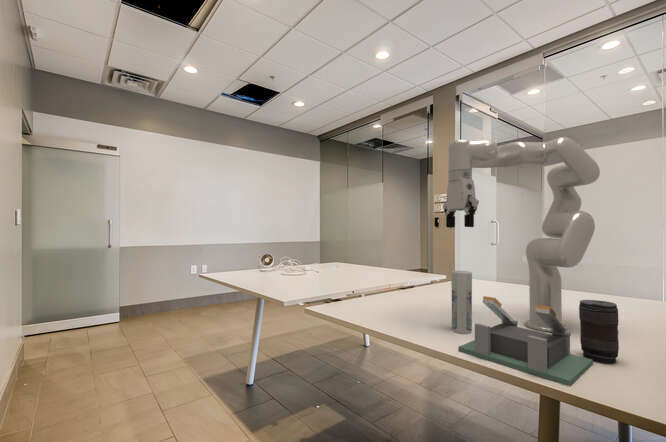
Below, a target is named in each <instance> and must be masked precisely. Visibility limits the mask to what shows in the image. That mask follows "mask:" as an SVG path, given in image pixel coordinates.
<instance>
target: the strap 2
mask: <svg viewBox="0 0 666 442" xmlns="http://www.w3.org/2000/svg"><path fill="white" fill-rule="evenodd" d="M535 312H536V313H537V315H538V316H539V317H540V318H541V319H542V320H543V321H544V322H545V324H546V325H547V326H548V327H549V328H550V329H551V330H552V331H553V332H557V333H562V334H566V330H565V328H564V327H563V326H562V325H561V324H560V322H559V321H558V320H557V319H556V313H555V312H554V311H553V309H552V308H551V307H547V306H541V305H536V306H535Z"/></svg>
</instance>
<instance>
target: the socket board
mask: <svg viewBox="0 0 666 442" xmlns="http://www.w3.org/2000/svg"><path fill="white" fill-rule="evenodd" d="M500 321H501V323H499V324H498V323H497V324H496V325H493V326H491V325H487V324H482V323H479V322H476V323H474V339H473V340H471V341H468V342H466V343H465V344H462V345H459V346H458V347H457V349H458V352H461V353H463V354H466V355H470V356H473V357H476V358H480V359H483V360H486V361H489V362H492V363H495V364H499V365H501V366H505V367H508V368H510V369H514V370H517V371H520V372H523V373H527V374H529V375H533V376H536V377H538V378H543V379H545V380H549V381H553V382H556V383H559V384H561V385H564V386H568V387H571V386H572V385H573V384H574V383H575V382H576V381H578V379H579V378H580V377H581V376H583V374H585V373H586V372H587V371H588V370H589V369H590V368H591V367H592V366H593V365H594V361H593V360H592V359H588V358H586V357H584V356H579V355H575V354H572V353H571V331H569V330H567V331H566V334H562V333H557V332H553V331H552V330H551V332H550V333H548V332H544V331H539V330H535V329H533V330H532V329H529V328H523V327H518V320H516V319H513V323H511V322H506V321H502V320H501V319H500Z"/></svg>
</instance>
